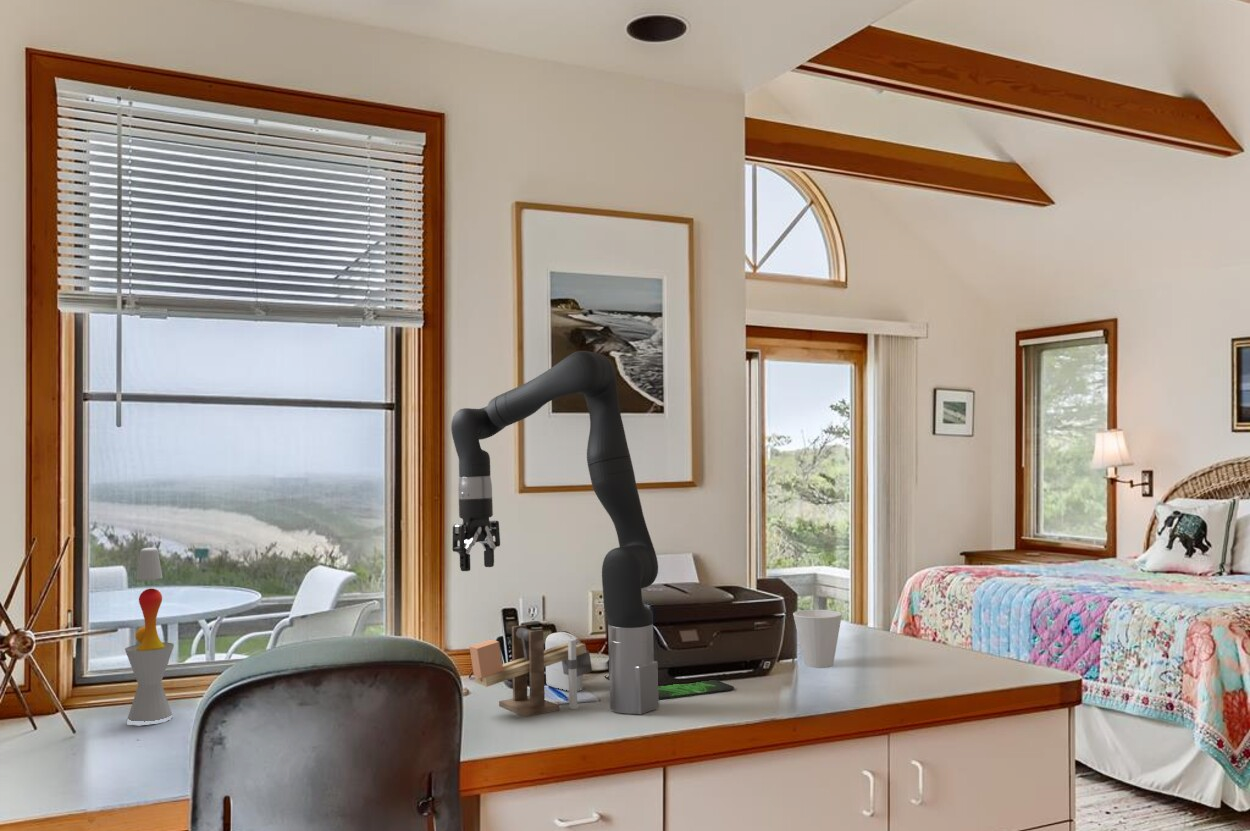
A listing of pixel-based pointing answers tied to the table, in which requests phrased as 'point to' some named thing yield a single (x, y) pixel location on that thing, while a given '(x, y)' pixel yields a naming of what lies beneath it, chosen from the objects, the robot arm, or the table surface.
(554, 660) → the beam
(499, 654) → the rider
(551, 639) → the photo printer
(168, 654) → the lava lamp
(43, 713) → the table surface
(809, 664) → the cup
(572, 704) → the post
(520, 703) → the pivot post
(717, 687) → the mouse mat
